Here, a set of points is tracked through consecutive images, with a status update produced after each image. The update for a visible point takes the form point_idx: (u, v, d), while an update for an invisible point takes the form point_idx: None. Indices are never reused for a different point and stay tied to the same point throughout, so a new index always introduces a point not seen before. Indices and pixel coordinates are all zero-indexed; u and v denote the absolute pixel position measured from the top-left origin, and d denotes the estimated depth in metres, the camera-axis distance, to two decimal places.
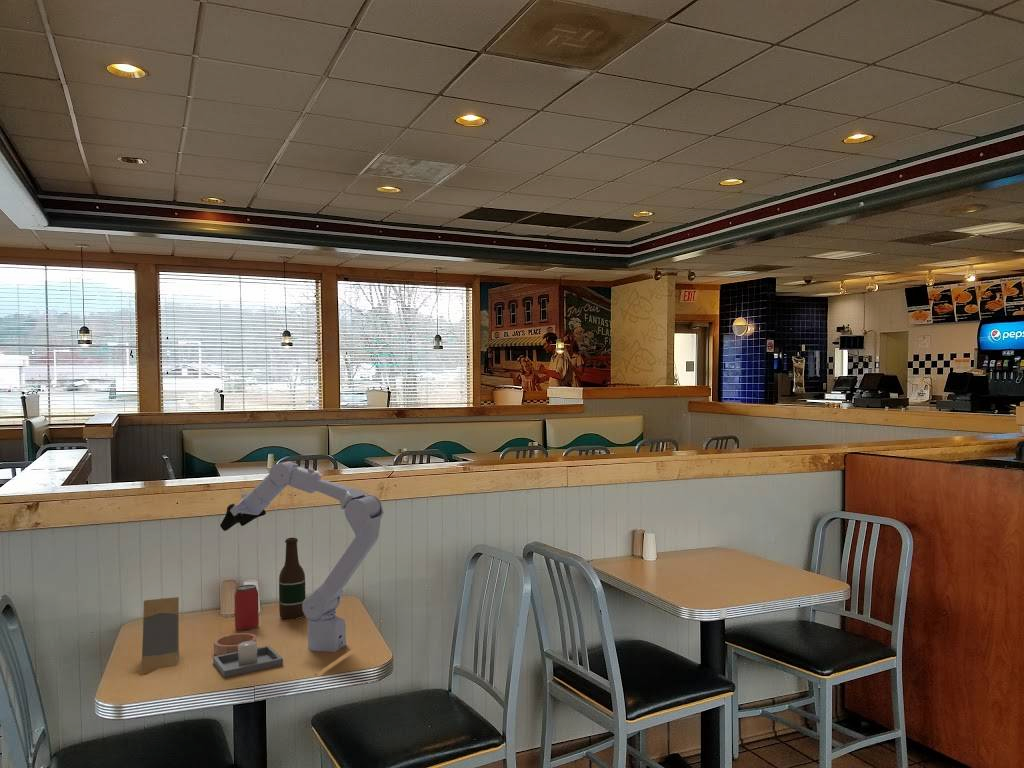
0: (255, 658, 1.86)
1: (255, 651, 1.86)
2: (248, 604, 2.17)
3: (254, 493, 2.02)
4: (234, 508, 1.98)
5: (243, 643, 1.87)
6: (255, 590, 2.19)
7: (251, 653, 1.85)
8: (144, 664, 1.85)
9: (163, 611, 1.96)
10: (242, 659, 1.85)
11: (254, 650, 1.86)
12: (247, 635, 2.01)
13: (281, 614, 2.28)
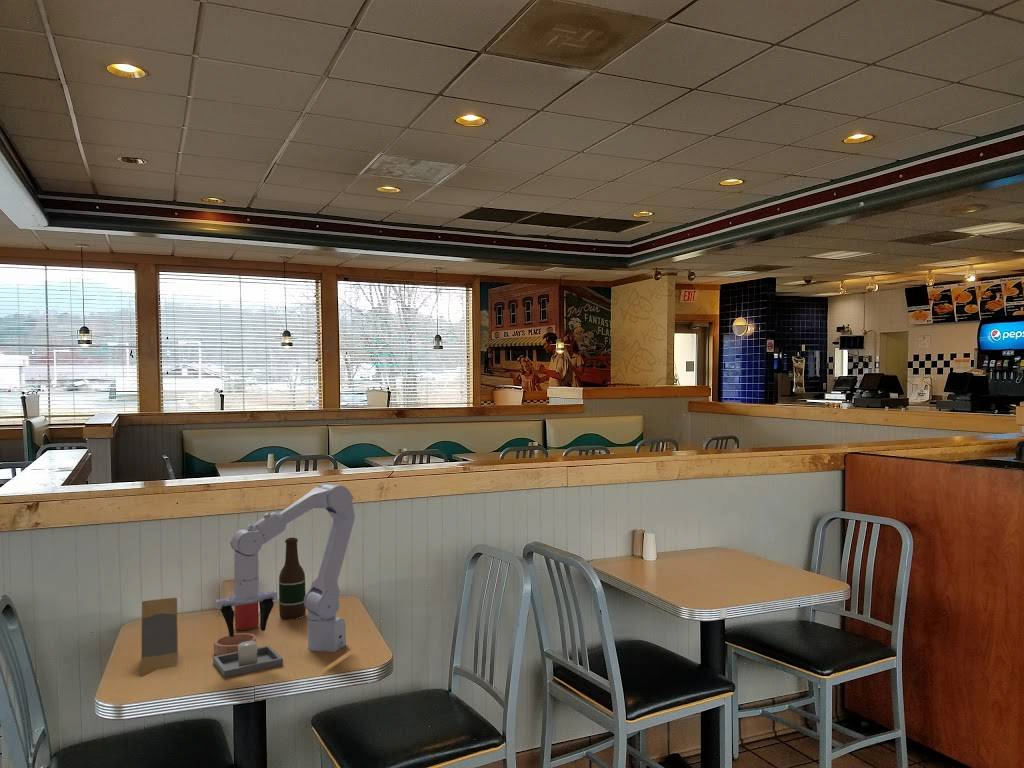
0: (255, 658, 1.86)
1: (255, 651, 1.86)
2: (248, 604, 2.17)
3: (258, 578, 1.88)
4: None
5: (243, 643, 1.87)
6: None
7: (251, 653, 1.85)
8: (143, 665, 1.84)
9: (162, 611, 1.95)
10: (242, 659, 1.85)
11: (254, 650, 1.86)
12: (247, 635, 2.01)
13: (281, 614, 2.28)
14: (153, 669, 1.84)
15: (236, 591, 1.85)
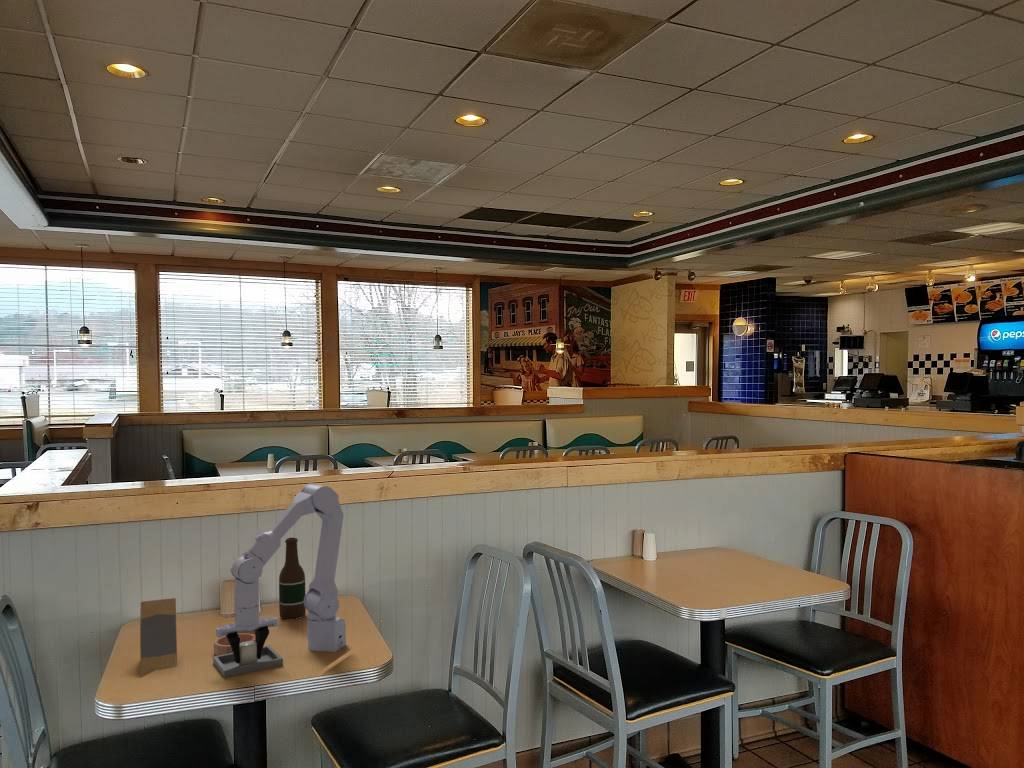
0: (255, 658, 1.86)
1: (255, 651, 1.86)
2: None
3: (258, 606, 1.88)
4: None
5: (243, 643, 1.87)
6: None
7: (251, 653, 1.85)
8: (143, 666, 1.84)
9: (161, 612, 1.95)
10: (242, 659, 1.85)
11: (254, 650, 1.86)
12: (247, 635, 2.01)
13: (281, 614, 2.28)
14: (153, 670, 1.84)
15: (236, 619, 1.85)
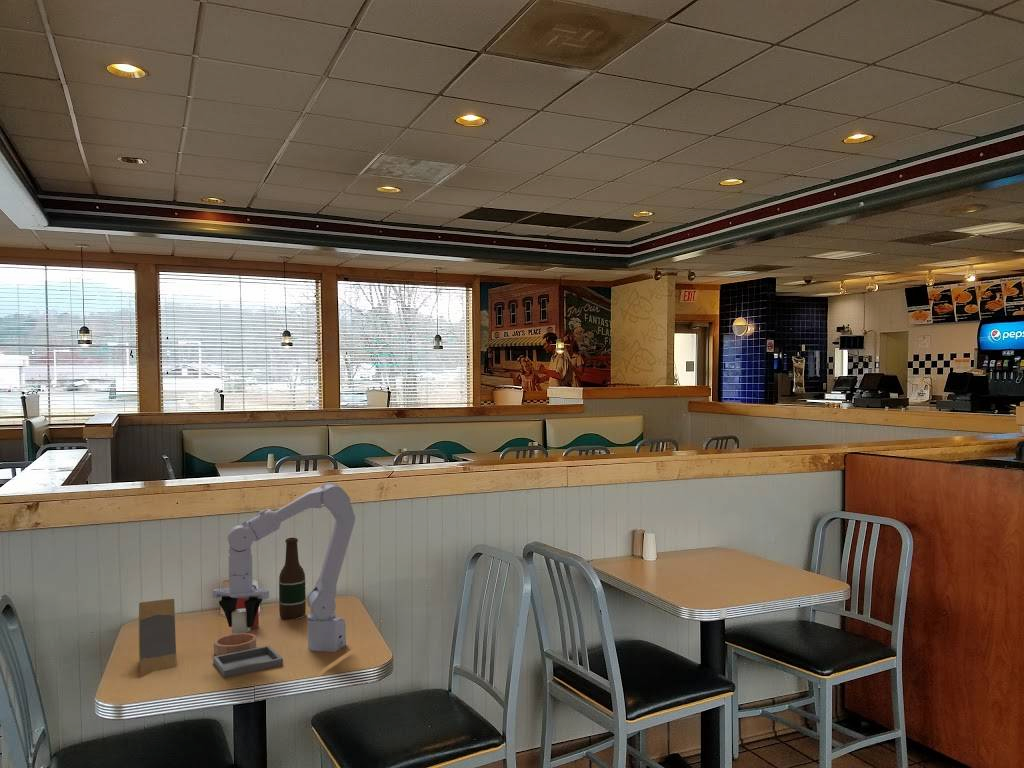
0: (243, 626, 1.90)
1: (243, 619, 1.90)
2: None
3: (248, 575, 1.90)
4: (266, 593, 1.90)
5: (240, 609, 1.93)
6: None
7: (238, 621, 1.89)
8: (143, 667, 1.83)
9: (159, 612, 1.94)
10: (232, 624, 1.90)
11: (242, 619, 1.90)
12: (247, 635, 2.01)
13: (281, 614, 2.28)
14: (153, 670, 1.83)
15: None
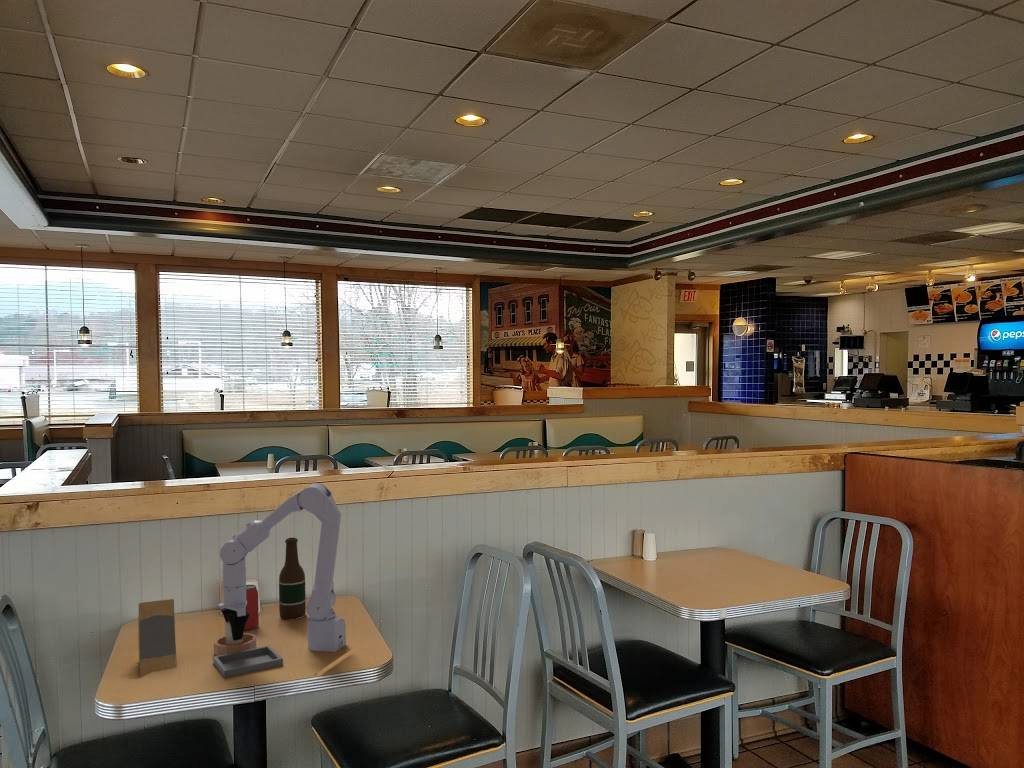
0: (229, 637, 1.95)
1: (229, 631, 1.95)
2: (248, 604, 2.17)
3: (232, 589, 1.95)
4: (240, 610, 1.91)
5: None
6: (255, 590, 2.19)
7: (225, 631, 1.96)
8: (142, 667, 1.83)
9: (159, 613, 1.94)
10: None
11: (228, 630, 1.95)
12: (247, 635, 2.01)
13: (281, 614, 2.28)
14: (153, 671, 1.83)
15: None
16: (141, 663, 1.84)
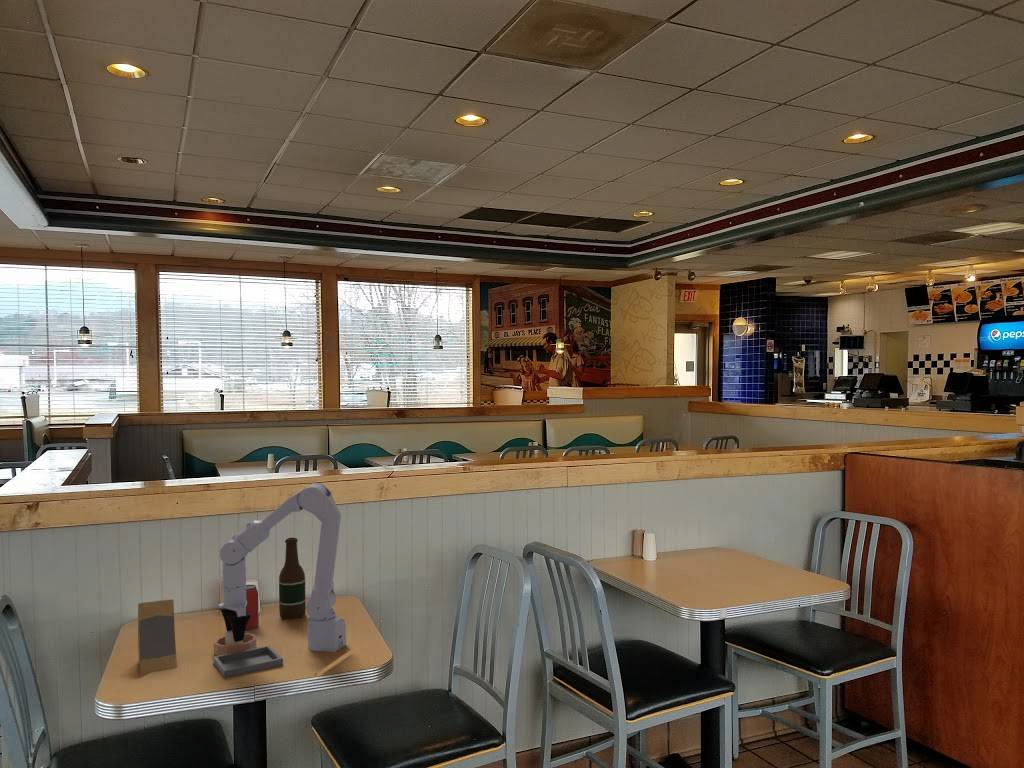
0: None
1: (230, 641, 1.95)
2: (248, 604, 2.17)
3: (232, 589, 1.95)
4: (240, 610, 1.91)
5: None
6: (255, 590, 2.19)
7: (226, 641, 1.96)
8: (143, 668, 1.83)
9: (159, 613, 1.94)
10: None
11: (228, 640, 1.95)
12: (247, 635, 2.01)
13: (281, 614, 2.28)
14: (153, 671, 1.83)
15: None
16: (141, 663, 1.83)
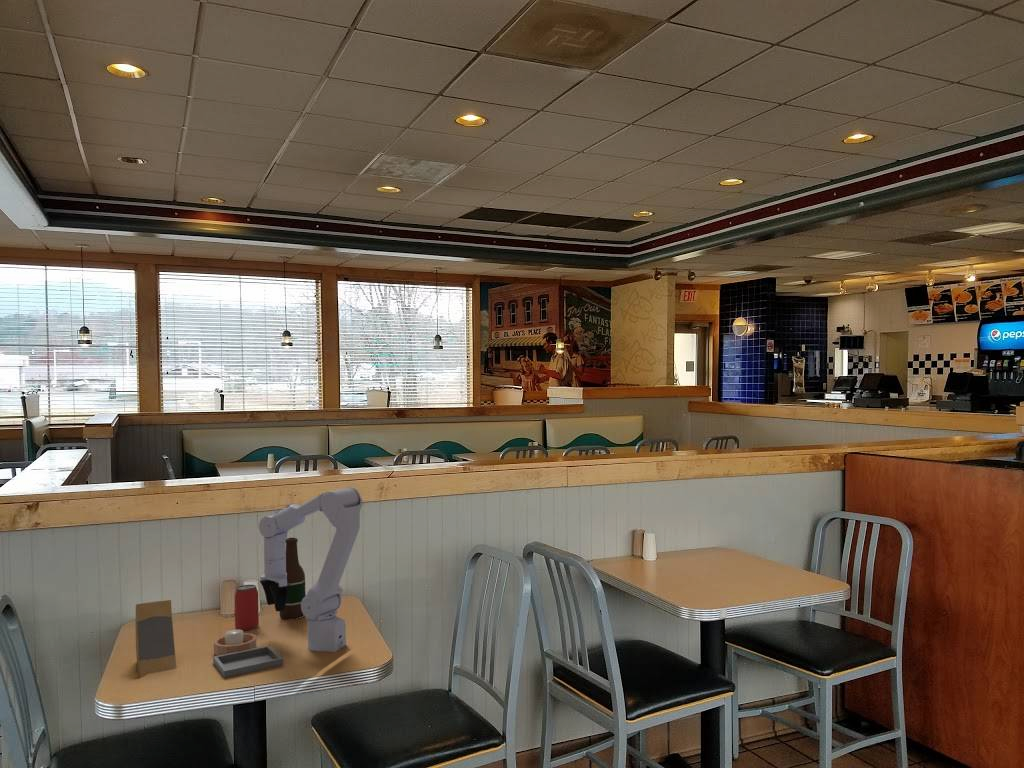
0: None
1: (230, 641, 1.95)
2: (248, 604, 2.17)
3: (274, 561, 2.04)
4: (281, 581, 2.01)
5: (237, 630, 1.98)
6: (255, 590, 2.19)
7: (226, 641, 1.96)
8: (142, 669, 1.82)
9: (157, 614, 1.93)
10: None
11: (228, 640, 1.95)
12: (247, 635, 2.01)
13: (281, 614, 2.28)
14: (152, 672, 1.82)
15: None
16: (140, 664, 1.83)
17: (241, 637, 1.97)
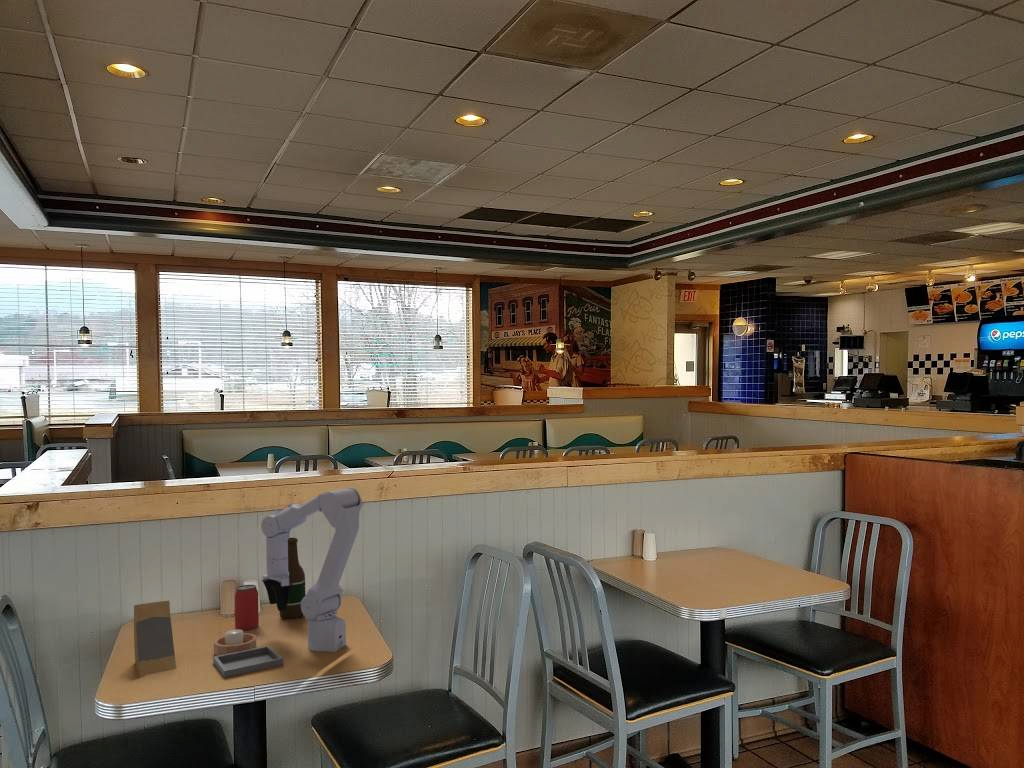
0: None
1: (230, 641, 1.95)
2: (248, 604, 2.17)
3: (276, 561, 2.05)
4: (283, 580, 2.01)
5: (237, 630, 1.98)
6: (255, 590, 2.19)
7: (226, 641, 1.96)
8: (142, 669, 1.82)
9: (155, 614, 1.92)
10: None
11: (228, 640, 1.95)
12: (247, 635, 2.01)
13: (281, 614, 2.28)
14: (152, 673, 1.82)
15: None
16: (140, 665, 1.82)
17: (241, 637, 1.97)
